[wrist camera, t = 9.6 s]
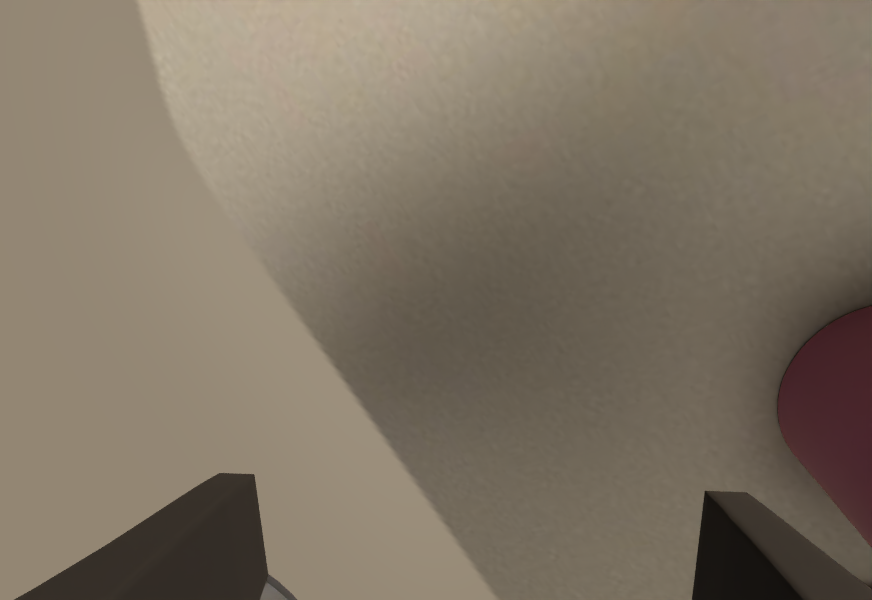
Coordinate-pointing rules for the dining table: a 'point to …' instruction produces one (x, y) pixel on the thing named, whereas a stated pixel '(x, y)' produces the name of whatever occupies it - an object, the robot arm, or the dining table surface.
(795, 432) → the yogurt
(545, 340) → the dining table surface
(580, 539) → the dining table surface
